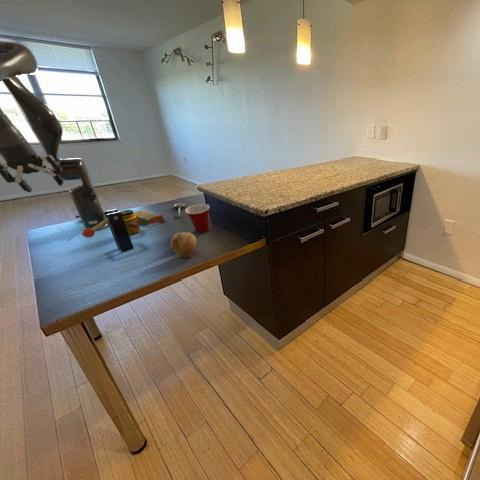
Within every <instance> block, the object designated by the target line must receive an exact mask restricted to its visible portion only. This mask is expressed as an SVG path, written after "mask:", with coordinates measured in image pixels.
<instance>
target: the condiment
mask: <svg viewBox="0 0 480 480" xmlns="http://www.w3.org/2000/svg"><path fill="white" fill-rule="evenodd" d="M120 212H121V215H122V217H123V220H124V223H125V225H126V228H127V231H128V234H129V236H135V235H138V234H140V233H141V232H142V230H141V227H140V224H138V221H137V218H136V216H135V215H134V212H135V211H134V210H133V209H125V210H122V211H120Z"/></svg>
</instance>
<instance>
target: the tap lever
mask: <svg viewBox="0 0 480 480" xmlns="http://www.w3.org/2000/svg"><path fill="white" fill-rule="evenodd" d="M111 213H114V211H113V212H111ZM107 222H109V220H108V218H107V219H105V220H104V221H102V222H101V223H99V224H98V225H96V226H95V227H93V228H92V229H91V228H86V229H85V228H84V229H82V231H81V235H82V237H84V238H87V239H89V238H90V239H91V238H93V237H94V236H95V233H96V232H95V231H98V230H97V229H98V228H100V227H101V226H103V225H104V224H106V223H107Z"/></svg>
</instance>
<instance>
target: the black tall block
mask: <svg viewBox="0 0 480 480" xmlns="http://www.w3.org/2000/svg"><path fill="white" fill-rule="evenodd" d="M113 211H114V213H111V212H113ZM103 212H104V215H105V217H106V219H107V218H108V220H109V222H108V227H109V230H110V232H111V235H112V237H113V240H114V243H115V245H116V247H117V249H118V250H119V251H120V253H124V252H127V251H131V250H133V249H135V247H134V245H133V242H132V239H131V235H129V234H128V231H127V228H126V225H125V223H124V220H123V217H122V215H121V211H120V210H118V208H114V209H110V210H105V211H103Z"/></svg>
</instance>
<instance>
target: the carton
mask: <svg viewBox="0 0 480 480" xmlns="http://www.w3.org/2000/svg"><path fill="white" fill-rule="evenodd" d="M133 212H134V215H135V216H136V218H137V221H138V224H139V225H141V226H149V225H151V224H152V225H153V224H156V223H160V224H162V223H164V222H165V219H164V216H163V214H161V213H156V212H153V211H149V210H146V209H141V210H137V211H133Z"/></svg>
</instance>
